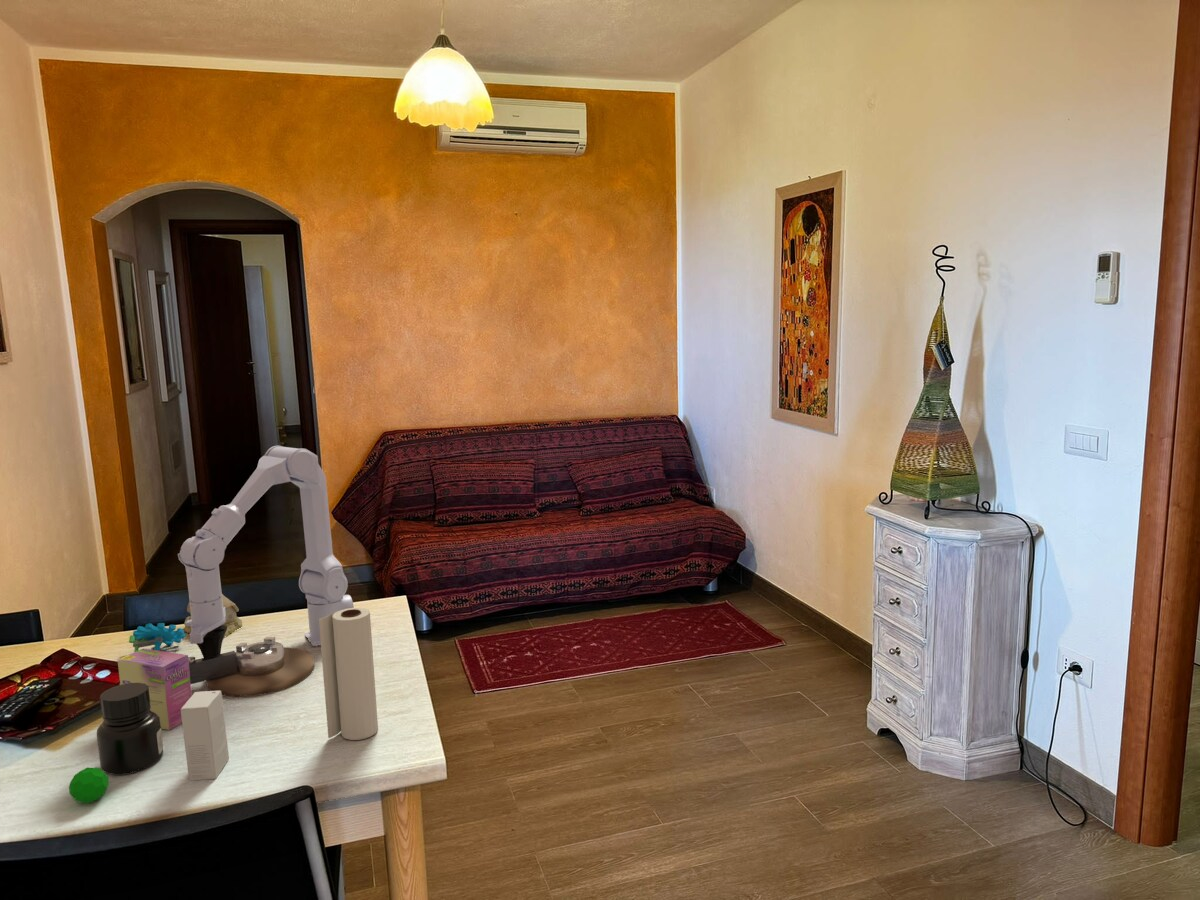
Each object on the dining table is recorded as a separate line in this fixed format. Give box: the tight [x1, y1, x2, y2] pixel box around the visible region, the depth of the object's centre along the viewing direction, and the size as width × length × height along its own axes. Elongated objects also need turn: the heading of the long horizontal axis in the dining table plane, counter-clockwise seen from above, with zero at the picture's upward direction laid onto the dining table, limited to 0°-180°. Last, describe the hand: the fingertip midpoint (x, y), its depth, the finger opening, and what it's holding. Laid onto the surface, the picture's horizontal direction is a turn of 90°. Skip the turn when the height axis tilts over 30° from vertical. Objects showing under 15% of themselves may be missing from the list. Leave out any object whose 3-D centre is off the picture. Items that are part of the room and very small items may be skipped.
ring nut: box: [188, 636, 285, 685], centre depth 166 cm, size 18×9×5 cm, turn 126°
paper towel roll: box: [319, 607, 379, 741], centre depth 143 cm, size 7×6×21 cm
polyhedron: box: [68, 766, 110, 804], centre depth 126 cm, size 5×5×5 cm
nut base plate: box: [205, 646, 315, 697], centre depth 169 cm, size 20×20×2 cm
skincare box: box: [181, 690, 230, 782], centre depth 132 cm, size 6×4×12 cm
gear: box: [128, 622, 186, 653], centre depth 181 cm, size 11×6×10 cm
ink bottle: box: [96, 683, 164, 775], centre depth 136 cm, size 10×9×12 cm
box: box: [117, 648, 193, 731], centre depth 150 cm, size 10×6×12 cm, turn 71°
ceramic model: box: [183, 593, 243, 638], centre depth 194 cm, size 14×11×10 cm
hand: (212, 664), depth 166 cm, fingers closed
